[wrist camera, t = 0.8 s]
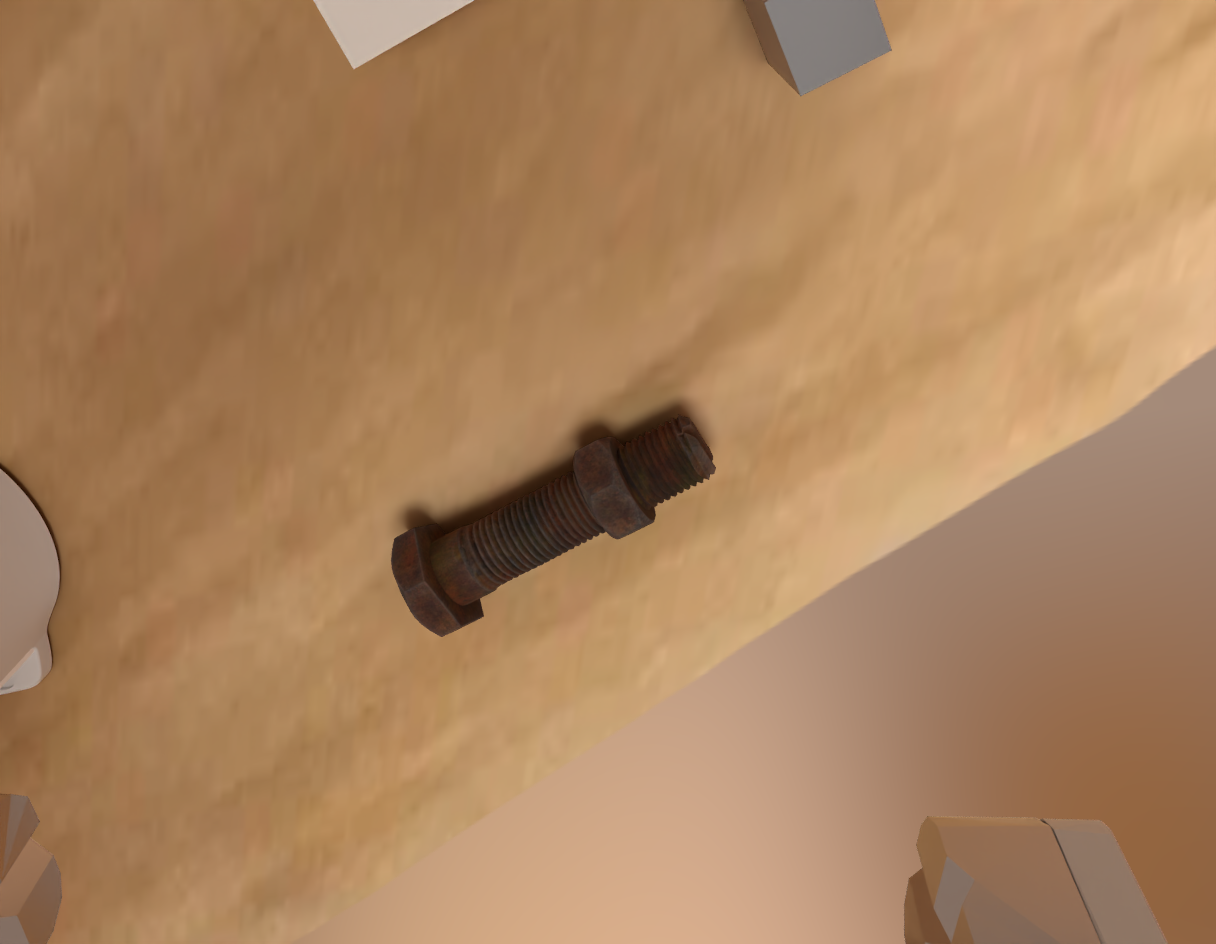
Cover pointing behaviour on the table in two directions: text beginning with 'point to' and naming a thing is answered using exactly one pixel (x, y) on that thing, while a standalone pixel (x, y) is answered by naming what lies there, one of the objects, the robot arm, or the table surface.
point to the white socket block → (380, 23)
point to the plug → (817, 38)
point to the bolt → (546, 522)
